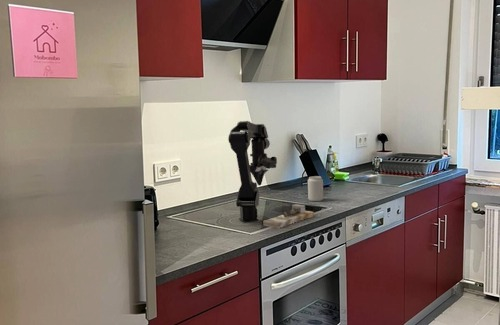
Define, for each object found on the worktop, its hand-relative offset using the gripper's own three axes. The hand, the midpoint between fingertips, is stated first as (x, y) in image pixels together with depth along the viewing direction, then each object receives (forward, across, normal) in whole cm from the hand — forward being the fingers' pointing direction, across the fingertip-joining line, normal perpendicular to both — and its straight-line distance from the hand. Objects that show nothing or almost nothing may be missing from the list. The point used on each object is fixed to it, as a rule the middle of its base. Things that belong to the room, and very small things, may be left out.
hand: (259, 185), depth 226 cm
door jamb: (+12, -9, -24) cm, 28 cm away
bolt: (+10, -6, -23) cm, 26 cm away
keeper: (+10, -2, -24) cm, 26 cm away
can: (+12, +32, -8) cm, 36 cm away
